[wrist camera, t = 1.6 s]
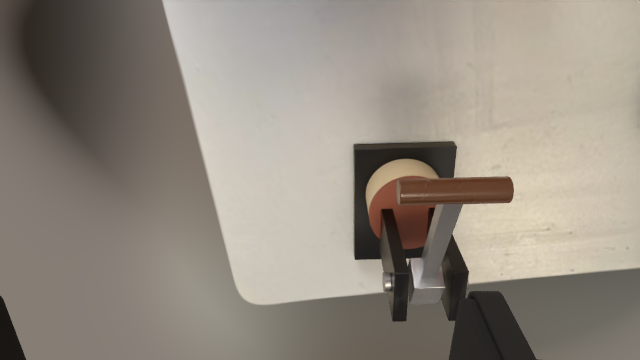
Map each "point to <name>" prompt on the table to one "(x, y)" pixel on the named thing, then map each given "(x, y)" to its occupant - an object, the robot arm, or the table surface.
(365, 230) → the bracket
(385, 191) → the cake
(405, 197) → the lever
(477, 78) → the table surface
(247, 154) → the table surface
